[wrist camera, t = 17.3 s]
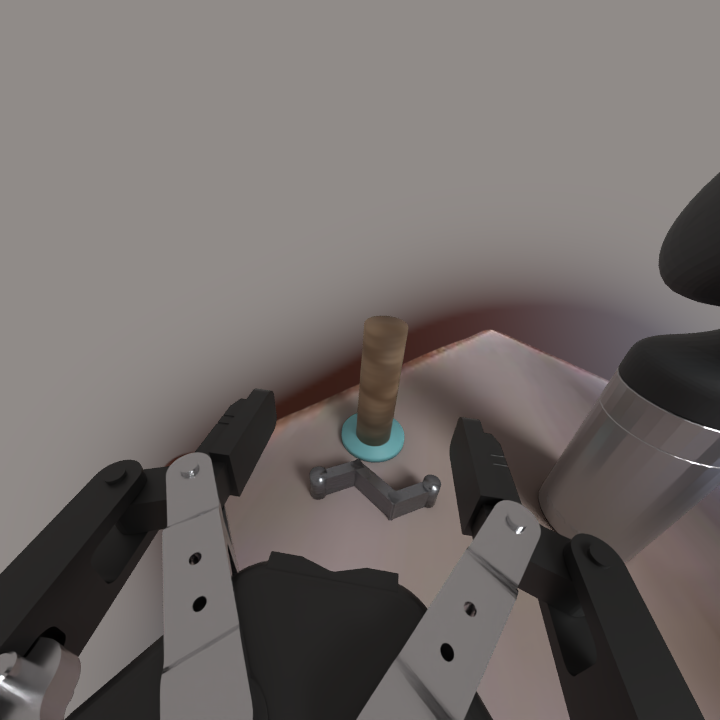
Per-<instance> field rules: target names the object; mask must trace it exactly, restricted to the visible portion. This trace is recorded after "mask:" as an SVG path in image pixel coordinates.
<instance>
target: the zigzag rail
mask: <svg viewBox="0 0 720 720" xmlns="http://www.w3.org/2000/svg"><path fill="white" fill-rule="evenodd" d="M352 486H355V487H356V488H357V489H358V490H359V491H360V492H362V493H363V494H364V495H365V496H366V497H367V498H368V499H369V500H370V501H371V502H372V503H373V504H374V505H376V506H377V507H378V508H379V509H380V510H381V511H382V512H383V513H384V514H385V515H386V516H387V517H388V519H389V520H393V519H394V518H397V517H399V516H402V515H404V514H407V513H410V512H412V511H415V510H417V509H420V508H423V507H427V508H431V507H433V506H434V504H435V501H436V498H437V495H438V492H439V490H440V487H441V482H440V480H439V478H438V477H436V476H434V475H427V476H425V478H424V480H423V482H421V483H418V484H415V485H412V486H409V487H406V488H403V489H400V490H397V491H395V490H394V489H392V488H391V487H390V486H389V485H388V484H387V483H385V482H384V481H383V480H382V479H381V478H379V477H378V476H377V475H376V474H375V473H374V472H372V471H371V470H370V469H369V468H368V467H367V466H365V465H364V464H363V463H362V462H361V460H360V459H357V460H355V461H351V462H348V463H345V464H341V465H338V466H334V467H331V468H327V469H325V468H323V467H315V468H313V469H312V470H311V471H310V491H311V496H312V497H313V498H314V499H317V500H320V499H323V498H324V497H325V496H326V495H327V494H330V493H333V492H337V491H340V490H343V489H346V488H349V487H352Z"/></svg>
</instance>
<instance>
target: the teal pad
mask: <svg viewBox="0 0 720 720" xmlns="http://www.w3.org/2000/svg"><path fill="white" fill-rule="evenodd" d="M356 426H357V413H356V414H354V415H352V416H351V417H349V418H348V419H347V420H346V421H345V423H344V425H343V427H342V442H343V445H344V447H345V448H346V450H347V451H348V452H349V453H350V454H352V455H353V456H354V457H356V458H358V459H360V460H363V461H367V462H384V461H387V460H390V459H392V458H394V457H395V456H396V455H397V454H398V453H399V452H400V451H401V449H402V447H403V443H404V431H403V429H402V427H401V425H400V424H399V423H398V422H397V421H396V420H395V419H394V418H393V423H392V429H391V435H390V439H389V440H388V442H387V443H385V444H384V445H381V446H368V445H366V444H364V443H362V442H361V441H360V440H359V439H358V438H357V435H356Z"/></svg>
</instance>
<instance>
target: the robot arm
mask: <svg viewBox="0 0 720 720" xmlns="http://www.w3.org/2000/svg"><path fill="white" fill-rule="evenodd" d="M659 270H660V274H661V277H662V279H663V281H664V282H665V284H666V285H667V286H668V287H669V288H670V289H671V290H673V291H674V292H676V293H678V294H680V295H682V296H684V297H687V298H689V299H691V300H694V301H697V302H701V303H705V304H710V305H716V306H720V173H719V174H717V175H716V176H715V177H714V178H713V179H712V180H711V181H710V182H709V183H708V184H707V185H706V186H704V187H703V189H702V190H701V191H700V192H699V193H698V194H697V195H696V196H695V197H694V198H693V199H692V200H691V201H690V203H689V204H688V205H687V206H686V207H685V209H684V210H683V211H682V212H681V214H680V215H679V216H678V218H677V219H676V221H675V222H674V223H673V225H672V226H671V228H670V230H669V231H668V233H667V235H666V237H665V239H664V242H663V244H662V247H661V251H660V254H659ZM276 418H277V417H276V408H275V400H274V393H273V391H270V390H262V389H254V390H253V391H252V392H251V394H250V395H249V397H248V398H247V399H240V400H238V401H237V402H235V403H234V404H233V405H231V406H230V407H229V408H228V410H227V411H226V412H225V414H224V416H222V417H221V419H220V420H219V421H218V424H216V425H215V427H214V428H213V429H212V431H211V432H210V433H209V434H208V436H207V437H206V438H205V440H204V441H203V442H202V444H201V445H200V446H199V448H198V449H197V450H196V451H195V452H194V453H190V454H187V455H184V456H182V457H180V458H179V459H177V460H176V461H174V462H173V463H172V464H171V466H167V467H161V468H152V469H144V470H143V468H142V466H141V465H140V463H139V462H137V461H135V460H123V461H119V462H116V463H113V464H111V465H109V466H107V467H105V468H104V469H102V470H101V471H100V472H98V474H96V475H95V476H94V477H93V479H91V480H90V482H89V483H88V484H87V485H86V486H85V487H84V488H83V489H82V490H81V491H80V492H79V493H78V494H77V495H76V496H75V497H74V498H73V499H72V500H71V501H70V502H69V504H67V505H66V506H65V507H64V509H63V510H62V511H61V512H60V513H59V514H58V515H57V516H56V517H55V518H54V519H53V520H52V521H51V522H50V523H49V524H48V525H47V526H46V527H45V528H44V530H42V531H41V532H40V533H39V535H38V536H37V537H36V538H35V539H34V540H33V541H32V542H31V543H30V544H29V545H28V546H27V547H26V548H25V549H24V550H23V551H22V552H21V553H20V554H19V555H18V556H17V557H16V558H15V559H14V560H13V561H12V562H11V564H10V565H9V566H8V567H7V568H6V569H5V570H4V571H3V572H2V573H1V574H0V720H64V714H65V710H66V707H67V705H68V704H69V702H70V701H71V699H72V696H73V694H74V689H75V687H76V685H77V682H78V680H79V676H80V671H81V663H80V660H79V658H78V656H79V655H80V653H81V652H82V650H83V648H84V647H85V645H86V644H87V642H88V641H89V639H90V637H91V636H92V634H93V633H94V631H95V630H96V628H97V626H98V625H99V623H100V622H101V620H102V618H103V617H104V615H105V614H106V612H107V611H108V609H109V608H110V606H111V604H112V603H113V601H114V600H115V598H116V596H117V595H118V593H119V592H120V590H121V589H122V587H123V585H124V584H125V582H126V581H127V579H128V578H129V576H130V575H131V573H132V571H133V570H134V568H135V567H136V565H137V563H138V562H139V560H140V559H141V557H142V555H143V554H144V552H145V551H146V549H147V548H148V546H149V545H150V543H151V541H152V540H153V538H154V537H155V535H156V534H157V532H158V530H160V529H163V533H162V561H163V563H162V564H163V623H164V624H163V625H164V635H163V636H161V637H160V638H159V639H158V640H157V641H155V642H154V643H153V644H152V645H151V646H150V647H148V648H147V649H146V650H145V651H144V652H143V653H141V654H140V655H139V656H138V657H137V658H135V659H134V660H133V661H132V662H131V663H130V664H128V665H127V666H126V667H125V668H124V669H123V670H121V671H120V672H119V673H118V674H117V675H116V676H114V677H113V678H112V679H111V680H110V681H108V682H107V683H106V684H105V685H104V686H103V687H101V688H100V689H99V690H98V691H97V692H96V693H94V694H93V695H92V696H91V697H90V698H88V699H87V700H86V701H85V702H84V703H83V704H81V705H80V706H79V707H78V708H77V709H76V710H74V711H73V712H72V713H71V714H70V715H69V716H68V717H67V718H66V719H65V720H493V719H492V717H491V715H490V714H489V712H488V710H487V709H486V707H485V705H484V703H483V702H482V700H481V698H480V696H479V695H478V693H477V688H478V686H479V684H480V681H481V679H482V677H483V674H484V672H485V670H486V667H487V665H488V663H489V661H490V658H491V656H492V654H493V651H494V649H495V647H496V644H497V642H498V640H499V638H500V635H501V633H502V631H503V628H504V626H505V624H506V621H507V619H508V617H509V614H510V612H511V610H512V608H513V605H514V603H515V601H516V598H517V595H518V590H517V588H519V589H521V590H523V591H525V592H527V593H529V594H530V595H532V596H534V597H536V598H538V601H539V605H540V608H541V612H542V616H543V620H544V623H545V627H546V631H547V635H548V638H549V642H550V646H551V650H552V653H553V657H554V661H555V665H556V668H557V672H558V676H559V680H560V683H561V687H562V691H563V695H564V698H565V702H566V706H567V710H568V713H569V717H570V720H705V719H704V717H703V715H702V713H701V711H700V709H699V707H698V705H697V703H696V701H695V699H694V697H693V696H692V694H691V692H690V690H689V688H688V686H687V684H686V682H685V680H684V678H683V676H682V674H681V672H680V670H679V668H678V666H677V665H676V663H675V661H674V659H673V657H672V655H671V653H670V651H669V649H668V647H667V645H666V643H665V641H664V639H663V637H662V635H661V634H660V632H659V630H658V628H657V626H656V624H655V622H654V620H653V618H652V616H651V614H650V612H649V610H648V608H647V606H646V604H645V603H644V601H643V599H642V597H641V595H640V593H639V591H638V589H637V587H636V585H635V583H634V581H633V579H632V577H631V575H630V573H629V572H628V570H627V568H626V566H625V564H624V562H626V561H629V560H631V559H632V558H633V557H634V556H635V555H637V554H638V553H639V552H640V551H641V550H643V549H644V548H645V547H646V546H647V545H649V544H650V543H651V542H652V541H653V540H655V539H656V538H657V537H659V536H660V535H661V534H662V533H663V532H664V531H666V530H667V529H668V528H669V527H670V526H672V525H673V524H674V523H675V522H676V521H677V520H679V519H680V518H681V517H682V516H683V515H684V514H686V513H687V512H688V511H689V510H690V509H691V508H693V507H694V506H695V505H696V504H697V503H699V502H700V501H701V500H702V499H703V498H704V497H706V496H707V495H708V494H709V493H710V492H711V491H713V490H714V489H715V488H716V487H717V486H718V485H720V329H718V330H713V331H707V332H700V333H688V334H670V335H658V336H652V337H648V338H645V339H642V340H640V341H639V342H637V343H636V344H634V345H633V347H631V349H630V350H629V351H628V353H627V354H626V356H625V357H624V359H623V360H622V362H621V364H620V365H619V367H618V369H617V370H616V372H615V373H614V375H613V376H612V378H611V380H610V381H609V383H608V384H607V386H606V387H605V389H604V390H603V392H602V394H601V395H600V397H599V398H598V400H597V401H596V403H595V404H594V406H593V408H592V409H591V411H590V412H589V414H588V415H587V417H586V418H585V420H584V421H583V423H582V424H581V426H580V428H579V429H578V431H577V432H576V434H575V435H574V437H573V438H572V440H571V441H570V443H569V444H568V446H567V448H566V449H565V451H564V452H563V454H562V455H561V457H560V458H559V460H558V461H557V463H556V464H555V466H554V467H553V469H552V470H551V472H550V473H549V475H548V477H547V478H546V480H545V481H544V483H543V484H542V486H541V488H540V490H539V503H540V507H541V509H542V511H543V513H544V515H545V517H546V518H547V520H548V522H549V523H550V524H551V526H552V527H553V528H554V529H555V530H556V531H557V533H556V532H554V531H552V530H549V529H547V528H545V527H543V526H542V525H540V524H539V523H538V521H537V519H536V518H535V516H534V515H533V514H532V513H531V512H530V511H529V510H528V509H527V508H526V507H524V506H523V505H522V504H521V501H520V498H519V496H518V493H517V490H516V487H515V484H514V482H513V479H512V476H511V473H510V470H509V468H508V467H507V462H506V459H505V458H504V454H503V451H502V448H501V445H500V444H499V442H498V441H497V440H496V439H495V438H494V436H493V435H492V434H488V433H484V432H483V429H482V425H481V422H480V420H478V419H471V418H464V417H460V418H459V419H458V422H457V425H456V428H455V431H454V434H453V437H452V440H451V444H450V461H451V467H452V474H453V480H454V486H455V492H456V498H457V505H458V511H459V517H460V523H461V529H462V534H463V535H469V536H472V537H473V541H472V543H471V544H470V546H469V547H468V548H467V549H466V551H465V552H464V554H463V555H462V557H461V558H460V560H459V561H458V563H457V564H456V566H455V568H454V569H453V571H452V572H451V574H450V575H449V577H448V579H447V580H446V582H445V583H444V585H443V586H442V588H441V589H440V591H439V593H438V594H437V596H436V597H435V599H434V600H433V602H432V604H431V605H430V607H429V608H428V609H427V608H426V606H425V605H424V604H423V603H422V602H421V601H420V599H419V598H418V597H416V596H415V595H414V594H413V593H412V592H411V591H409V590H408V589H406V588H405V587H403V586H401V585H399V584H398V573H392V572H387V571H381V570H375V569H370V568H362V569H353V570H345V571H337V572H333V571H329V570H327V569H325V568H323V567H321V566H320V565H318V564H316V563H314V562H312V561H310V560H308V559H306V558H304V557H302V556H297V555H291V554H285V553H280V552H274V551H272V552H271V555H270V557H269V560H268V561H264V562H260V563H257V564H254V565H251V566H249V567H247V568H245V569H243V570H241V571H239V568H238V564H237V560H236V556H235V552H234V547H233V542H232V537H231V532H230V527H229V522H228V517H227V512H226V507H225V502H226V501H227V499H228V497H229V495H233V496H239V497H240V495H241V493H242V491H243V489H244V487H245V485H246V483H247V481H248V479H249V477H250V476H251V474H252V472H253V470H254V468H255V466H256V464H257V462H258V460H259V458H260V456H261V454H262V452H263V450H264V449H265V447H266V445H267V443H268V441H269V439H270V437H271V435H272V433H273V431H274V429H275V425H276ZM558 533H559V534H558Z"/></svg>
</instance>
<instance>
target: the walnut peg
mask: <svg viewBox="0 0 720 720" xmlns="http://www.w3.org/2000/svg"><path fill="white" fill-rule="evenodd" d="M407 333H408V325H407V324H406V323H405V322H404V321H402V320H401V319H398V318H395V317H390V316H374V317H371V318H368V319H367V320H366V321H365V323H364V336H363V350H362V362H361V375H360V388H359V400H358V413H357V426H356V435H357V438H358V439H359V440H360V441H361V442H362V443H364V444H366V445H368V446H381V445H384V444H385V443H387V442H388V440H389V439H390V435H391V429H392V423H393V417H394V411H395V405H396V399H397V393H398V387H399V381H400V375H401V369H402V362H403V357H404V351H405V345H406V339H407Z"/></svg>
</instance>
